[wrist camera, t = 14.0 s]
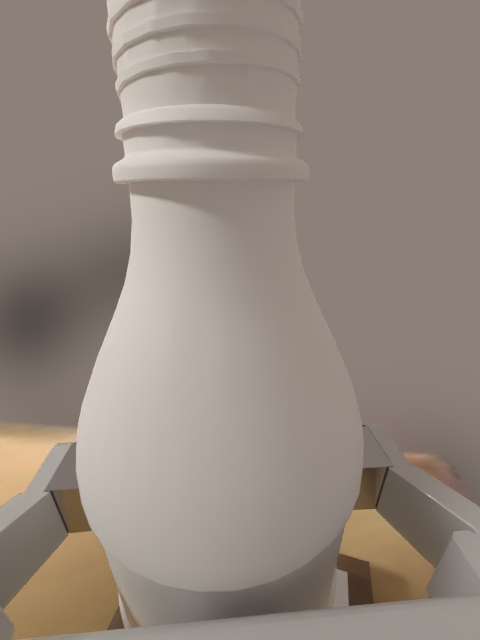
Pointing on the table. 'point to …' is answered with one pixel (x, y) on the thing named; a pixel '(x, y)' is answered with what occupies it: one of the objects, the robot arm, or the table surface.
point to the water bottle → (215, 332)
